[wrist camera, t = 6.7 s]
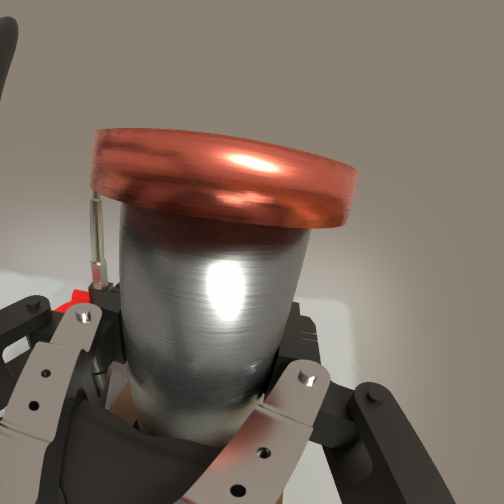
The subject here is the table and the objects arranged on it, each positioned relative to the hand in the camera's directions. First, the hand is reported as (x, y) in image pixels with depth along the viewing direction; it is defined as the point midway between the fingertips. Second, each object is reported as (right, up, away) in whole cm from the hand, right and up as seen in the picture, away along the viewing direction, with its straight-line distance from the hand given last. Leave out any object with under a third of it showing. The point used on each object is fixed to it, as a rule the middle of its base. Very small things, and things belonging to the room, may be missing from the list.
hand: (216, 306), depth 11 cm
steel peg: (-2, -9, +1) cm, 9 cm away
